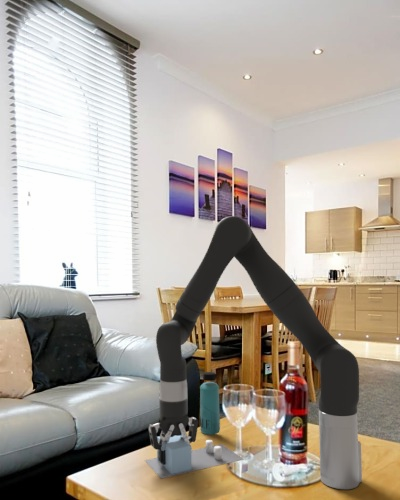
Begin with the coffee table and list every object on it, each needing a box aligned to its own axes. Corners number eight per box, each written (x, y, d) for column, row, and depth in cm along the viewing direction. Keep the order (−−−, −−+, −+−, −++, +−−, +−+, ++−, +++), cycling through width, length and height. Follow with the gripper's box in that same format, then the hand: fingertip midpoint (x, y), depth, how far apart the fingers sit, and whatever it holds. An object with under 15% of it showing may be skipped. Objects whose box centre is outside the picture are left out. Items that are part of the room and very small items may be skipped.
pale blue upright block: (175, 455, 121) (175, 433, 121) (191, 469, 112) (191, 445, 112) (157, 459, 119) (156, 436, 119) (171, 474, 110) (171, 449, 110)
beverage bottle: (222, 433, 142) (221, 370, 143) (217, 440, 135) (216, 375, 136) (203, 431, 143) (202, 369, 145) (197, 438, 137) (196, 374, 138)
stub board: (221, 449, 129) (221, 433, 129) (243, 464, 118) (243, 447, 118) (144, 465, 118) (144, 448, 118) (161, 484, 107) (161, 466, 107)
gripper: (153, 403, 110) (153, 472, 109) (203, 396, 116) (204, 461, 115) (143, 396, 116) (143, 461, 115) (191, 389, 123) (192, 451, 122)
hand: (173, 461), depth 115 cm, fingers closed on pale blue upright block, 5 cm apart
